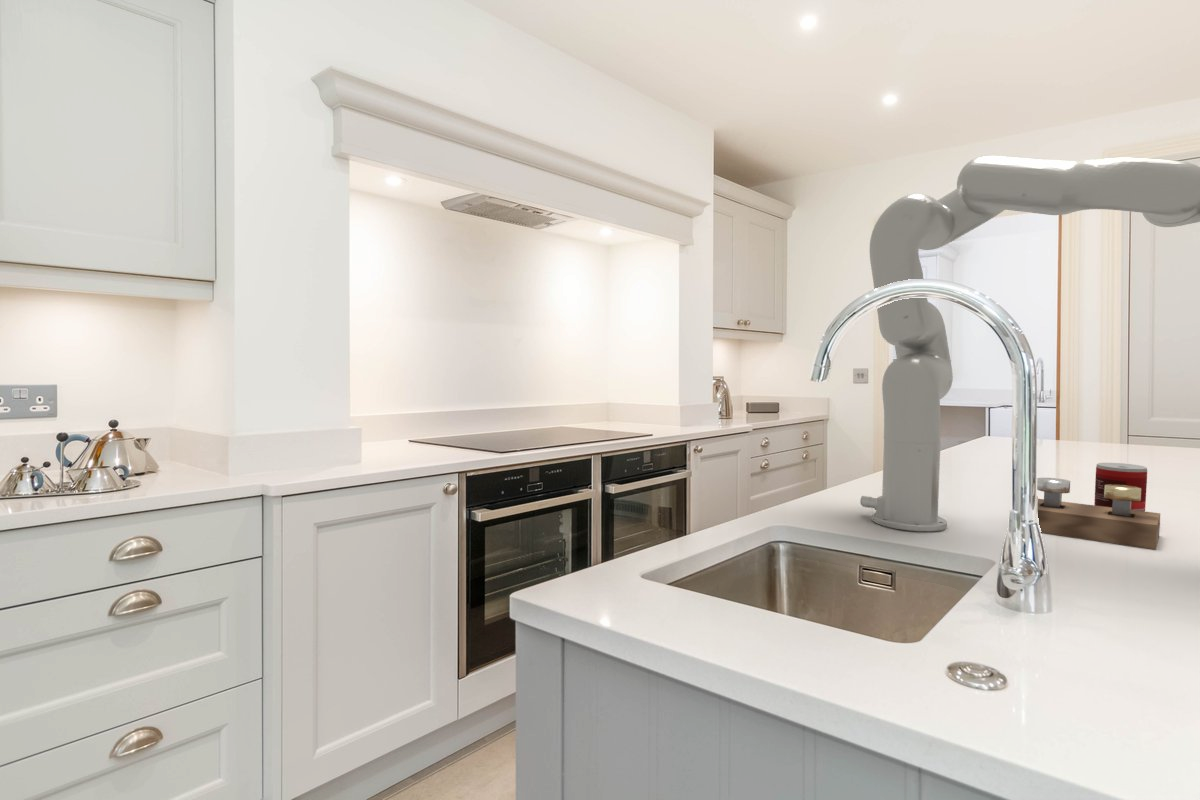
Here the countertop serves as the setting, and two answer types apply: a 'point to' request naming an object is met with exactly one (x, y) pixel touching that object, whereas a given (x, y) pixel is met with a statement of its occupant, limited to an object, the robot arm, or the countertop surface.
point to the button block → (1100, 524)
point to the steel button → (1053, 490)
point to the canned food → (1120, 482)
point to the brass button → (1122, 498)
